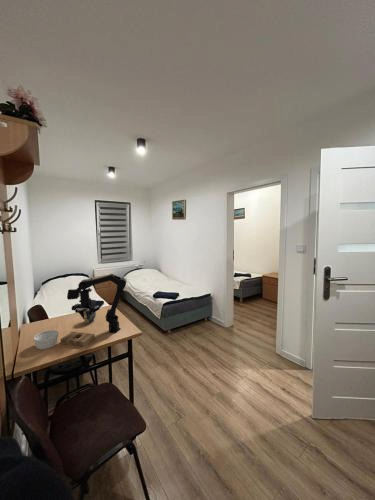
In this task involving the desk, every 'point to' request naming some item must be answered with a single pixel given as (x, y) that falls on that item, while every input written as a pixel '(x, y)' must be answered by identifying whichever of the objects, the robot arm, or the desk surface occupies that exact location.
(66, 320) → the desk surface
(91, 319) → the mortar and pestle
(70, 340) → the board
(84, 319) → the peg
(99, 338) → the desk surface
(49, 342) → the ramekin
